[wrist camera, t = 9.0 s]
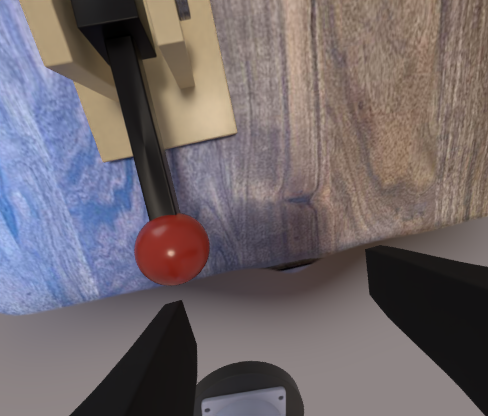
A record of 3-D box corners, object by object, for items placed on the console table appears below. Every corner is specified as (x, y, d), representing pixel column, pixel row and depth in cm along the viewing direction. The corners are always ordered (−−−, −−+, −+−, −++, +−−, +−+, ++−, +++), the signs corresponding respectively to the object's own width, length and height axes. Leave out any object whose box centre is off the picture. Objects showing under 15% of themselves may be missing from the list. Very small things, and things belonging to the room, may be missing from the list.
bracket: (236, 134, 17) (255, 122, 10) (110, 161, 17) (27, 172, 9) (196, -53, 14) (179, -273, 7) (41, -29, 14) (-162, -242, 6)
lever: (218, 264, 12) (215, 285, 9) (156, 280, 11) (133, 307, 8) (153, 1, 11) (127, -73, 8) (88, 12, 11) (37, -59, 8)
